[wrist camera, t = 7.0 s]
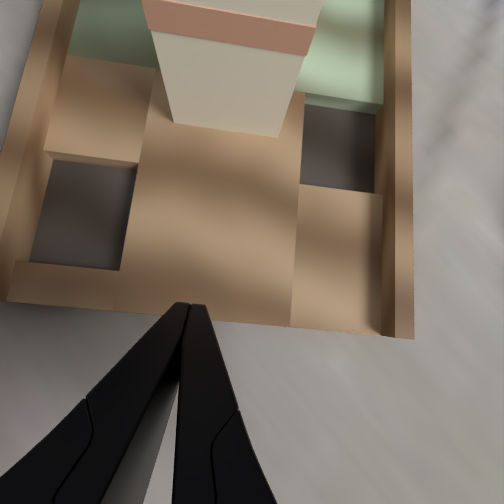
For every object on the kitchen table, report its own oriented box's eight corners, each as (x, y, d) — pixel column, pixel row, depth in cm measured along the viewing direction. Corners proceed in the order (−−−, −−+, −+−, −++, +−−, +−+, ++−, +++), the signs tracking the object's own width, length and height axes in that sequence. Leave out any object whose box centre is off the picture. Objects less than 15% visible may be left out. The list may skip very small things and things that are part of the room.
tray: (386, 334, 17) (414, 339, 15) (1, 299, 16) (-40, 298, 13) (389, -36, 22) (409, -78, 20) (99, -94, 21) (83, -147, 18)
